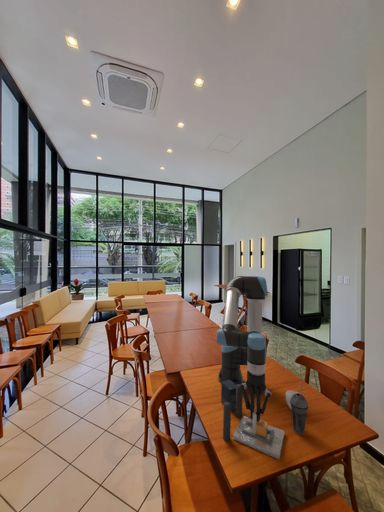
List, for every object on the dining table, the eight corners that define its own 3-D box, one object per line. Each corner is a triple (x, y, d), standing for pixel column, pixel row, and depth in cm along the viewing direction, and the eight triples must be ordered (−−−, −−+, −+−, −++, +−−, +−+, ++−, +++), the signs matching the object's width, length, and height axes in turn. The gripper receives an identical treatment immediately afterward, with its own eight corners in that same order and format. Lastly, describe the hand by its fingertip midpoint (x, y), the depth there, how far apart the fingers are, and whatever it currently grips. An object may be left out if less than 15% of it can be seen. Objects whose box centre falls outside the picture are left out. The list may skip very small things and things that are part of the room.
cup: (291, 414, 108) (291, 400, 108) (280, 401, 118) (280, 388, 118) (305, 412, 109) (306, 399, 109) (293, 400, 119) (293, 387, 119)
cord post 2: (234, 416, 106) (235, 386, 106) (236, 412, 108) (237, 383, 108) (240, 418, 104) (241, 388, 104) (242, 414, 107) (243, 385, 107)
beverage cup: (286, 424, 101) (287, 380, 101) (301, 423, 102) (302, 379, 102) (295, 437, 94) (295, 389, 94) (311, 436, 94) (312, 389, 95)
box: (238, 408, 111) (239, 386, 112) (229, 411, 109) (230, 389, 109) (229, 399, 118) (230, 379, 119) (220, 402, 116) (221, 381, 116)
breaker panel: (233, 439, 92) (233, 431, 92) (243, 418, 104) (243, 412, 104) (279, 459, 83) (279, 451, 83) (284, 434, 95) (284, 427, 95)
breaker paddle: (255, 434, 92) (255, 422, 92) (257, 428, 96) (258, 417, 96) (265, 438, 90) (265, 426, 90) (267, 432, 94) (267, 420, 94)
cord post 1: (221, 439, 92) (222, 404, 92) (224, 434, 94) (225, 401, 95) (228, 442, 90) (229, 407, 91) (231, 437, 93) (232, 403, 93)
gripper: (238, 371, 95) (237, 426, 94) (270, 379, 88) (269, 440, 88) (243, 364, 101) (242, 416, 101) (273, 372, 95) (272, 428, 94)
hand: (255, 427), depth 94 cm, fingers closed
